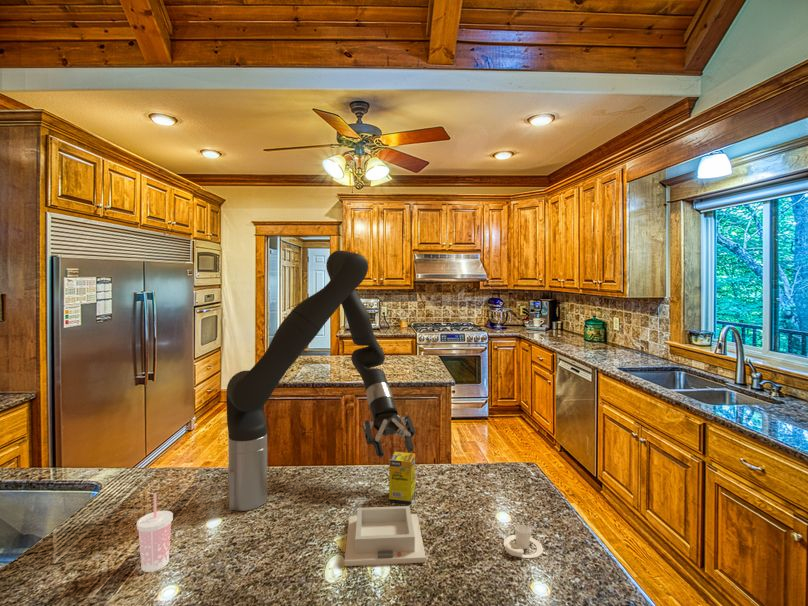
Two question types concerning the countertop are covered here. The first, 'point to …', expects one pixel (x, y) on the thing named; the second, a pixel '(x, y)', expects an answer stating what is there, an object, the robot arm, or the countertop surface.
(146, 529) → the beverage cup
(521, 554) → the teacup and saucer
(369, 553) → the socket base
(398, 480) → the supplement box
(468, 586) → the countertop surface
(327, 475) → the countertop surface
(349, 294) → the robot arm
